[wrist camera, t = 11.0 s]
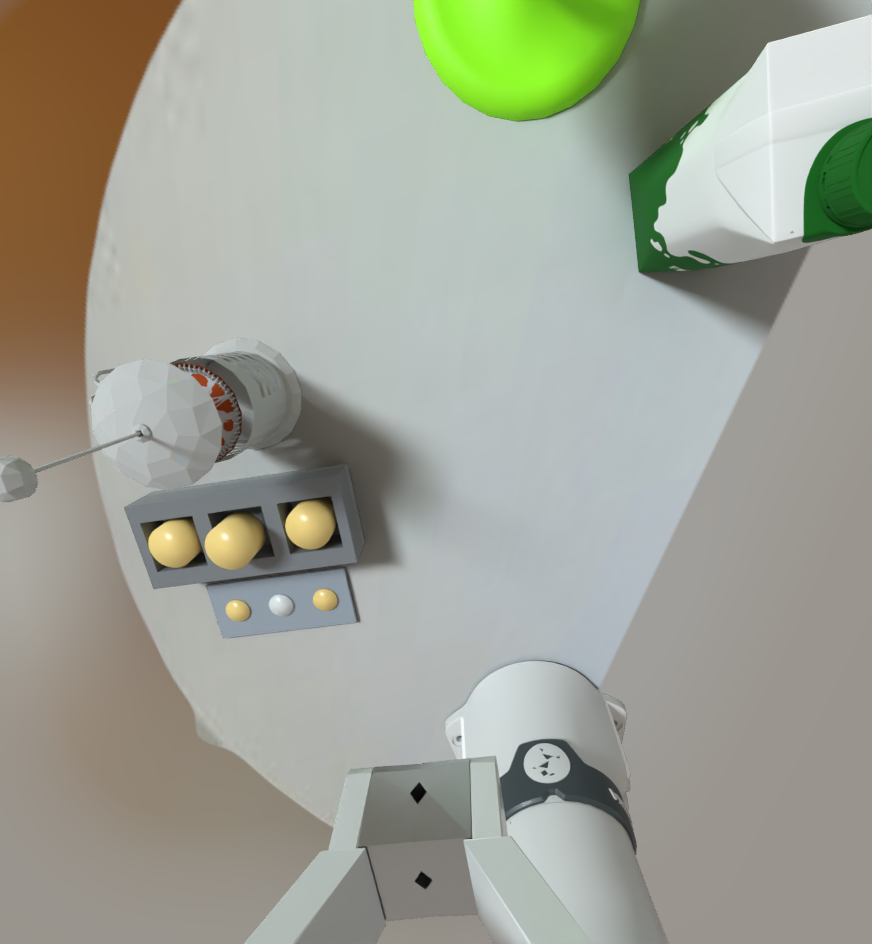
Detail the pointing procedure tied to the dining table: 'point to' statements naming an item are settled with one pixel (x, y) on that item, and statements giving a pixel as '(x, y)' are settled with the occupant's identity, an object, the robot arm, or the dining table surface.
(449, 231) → the dining table surface
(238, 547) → the middle button
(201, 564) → the button board
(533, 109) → the wineglass
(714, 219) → the milk carton
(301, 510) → the right button
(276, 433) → the french press
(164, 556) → the left button
